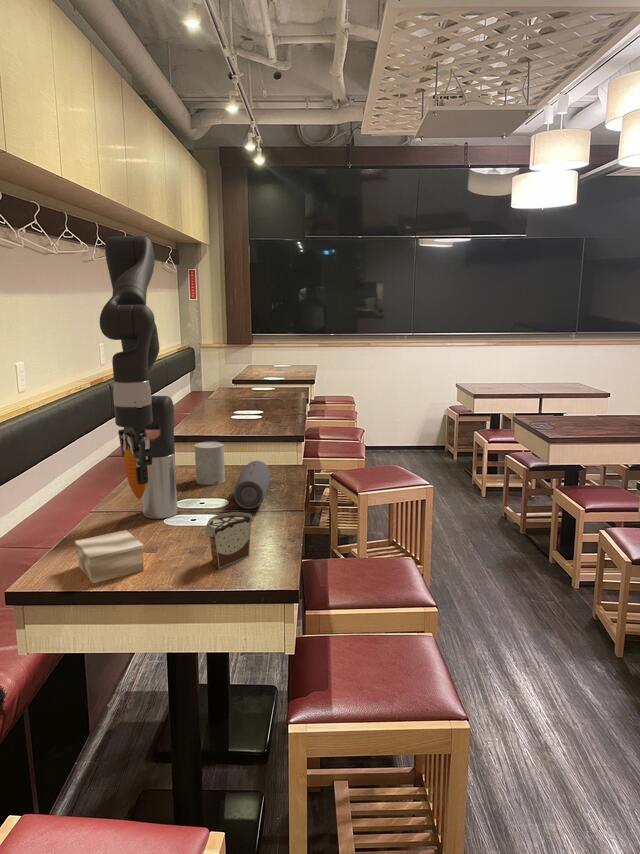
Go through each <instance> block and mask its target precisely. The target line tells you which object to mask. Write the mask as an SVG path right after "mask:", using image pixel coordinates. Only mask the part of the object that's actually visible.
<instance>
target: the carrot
mask: <svg viewBox="0 0 640 854" xmlns="http://www.w3.org/2000/svg"><path fill="white" fill-rule="evenodd" d="M127 436H129V435H125V436H124V437H125V438H126V439H127ZM127 441H128V440H127ZM136 452H139V451H136ZM123 458H124V459H123V460H124V465H125V474H126V478H127V481H128V485H129V487H130V489H131V491H132V493H133V495H135V498H136V499H138V500H141V499H142V498H143V497H142V496H143V494H144V491H145V489H146V486H147V484H142V485H139V484H138V483H137V476H136V464H135V458H134V457H132V455H131V449H130V448H129V449H127V450H126V451H125V452H124V457H123ZM143 460H144V458H143ZM147 470H148V473H149V466H147Z"/></svg>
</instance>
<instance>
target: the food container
mask: <svg viewBox="0 0 640 854" xmlns="http://www.w3.org/2000/svg"><path fill="white" fill-rule="evenodd" d="M253 520H254V519H253V516H252V514H251V513H247V512H239V511H238V512H237V511H236V512H225V513H221V514H216V515H214V516H211V518H209V519H208V520H207V523H206V527H205V533H206V535H208V536H209V542H210V543H209V544H210V550H211V557H212V565H213V566H214V567H215V568H216V569H217V570H220V569H223V568H225V567H227V566H230V565H232V564H234V563H237V562H239V561H241V560H244V559H247V558H248V557H250V550H251V549H250V548H251V547H250V546H251V531H252V530H251V529H252V527H251V526H252V523H253V522H254V521H253Z"/></svg>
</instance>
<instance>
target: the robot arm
mask: <svg viewBox="0 0 640 854" xmlns="http://www.w3.org/2000/svg"><path fill="white" fill-rule="evenodd" d="M104 252H105V260H106V264H107V270H108V274H109V278H110V282H111V287H112V294H111V295H112V296H111V297H110V298H109V300H108V301H107V302H106V303H105V305H103V308H102V309H101V313H100V315H99V328H100V330H101V333H102V334H103V336H104V337H106V338H107V339H109V340H112V341H120V342H121V343H120V344H121V348H122V351H119V352H115V354H113V356H112V358H111V359H112V360H111V363H112V372H113V374H112V376H113V391H112V394H113V405H114V409H113V410H114V420H115V421H114V423H115V425H116V426H117V427H120V428H122V429H118V432H117V433H118V438H119V445H120V451H121V456H122V457H123V458H124V452H125V451H126V450H127V449H129V448H130V449H131V455H132V457H134V458H135V464H136V476H137V483H138V484H139V485H142V484H147V486H146V489H145V491H144V494H143V496H142V497H141V498H142V511H143V512H142V513H143V516H144V517H145V518H149V519H156V520H157V519H167V518H170V517H173V516H175V515H177V513H178V499H177V498H178V496H177V493H178V492H177V479H176V478H177V477H176V474H177V473H176V460H175V457H176V456H175V406H174V402H173V400H172V398H171V397H170V396H168V395H152V391H151V385H150V377H149V376H150V375H149V373H150V371H151V370H152V367H153V366H154V364H155V362H156V360H157V359H158V356H159V354H160V341H159V333H158V328H157V324H156V322H155V320H156V319H155V315H154V312H153V310H152V309H151V308H150V307H149V306H148V305H147V295H148V294H147V291H148V287H149V284H150V282H151V280H152V276H153V273H154V272H155V271H154V269H155V266H156V265H155V262H156V261H155V260H156V259H155V250H154V247H153V243H152V240H151V239H150V238H149V237H147V236H145V235H125V236H124V235H121V236H111V237H110V236H109V237H108V238H107V239H106V240H105V243H104ZM147 430H149V431H154V430H155V431H157V430H158V431H159V435H158V436H157V437H155V438H148V434H147ZM125 435H129V436H127V439H126V438H125V437H124V436H125ZM127 440H128V441H127ZM136 451H139V452H136ZM143 458H144V460H143ZM147 466H149V473H148V470H147Z"/></svg>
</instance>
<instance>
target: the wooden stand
mask: <svg viewBox="0 0 640 854" xmlns="http://www.w3.org/2000/svg"><path fill="white" fill-rule="evenodd" d="M74 544H75V545H76V551H77V561H78V563H77V564H78V567H79V569H80V570H81V571H82V572H83V574H85V576H86V577H87V578H88V580H89V581H91V583H92V584H96V583H100V582H105V581H108V580H112V579H116V578H117V579H118V578H120V577H121V578H122V577H124V576H128V575H133V574H136V573H140V572H144V571H145V569H144V567H145V566H144V556H143V555H144V554H143V552H144V551H143V549H145V545H144V543H142V541H140V540H138V539H137V538H136V537H135V536H134V535H133V534H132V533H130V532H129V531H128V530H127V529H125V530H119V531H115V532H110V533H105V534H102V535H101V534H100V535H97V536H96V535H95V536H91V537H87V538H82V539H78V540H77V539H76V540H74Z"/></svg>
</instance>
